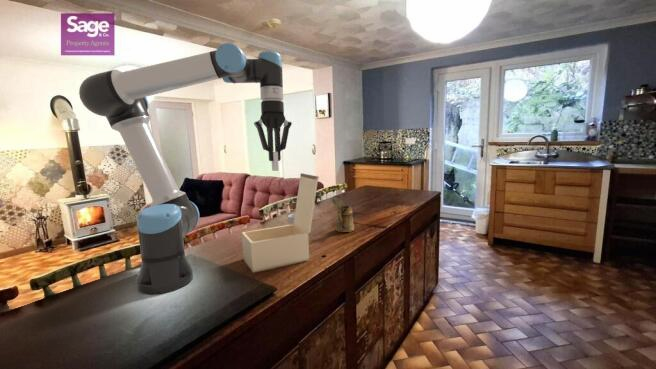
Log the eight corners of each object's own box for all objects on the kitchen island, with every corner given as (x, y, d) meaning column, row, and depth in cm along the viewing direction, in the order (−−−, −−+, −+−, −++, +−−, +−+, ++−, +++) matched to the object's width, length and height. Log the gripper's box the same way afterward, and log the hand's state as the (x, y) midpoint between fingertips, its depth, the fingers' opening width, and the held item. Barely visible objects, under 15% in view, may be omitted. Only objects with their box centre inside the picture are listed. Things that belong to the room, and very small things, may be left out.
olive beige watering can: (327, 234, 140) (326, 195, 137) (341, 226, 151) (340, 190, 149) (345, 236, 135) (344, 196, 133) (357, 228, 147) (357, 191, 144)
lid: (316, 176, 107) (318, 176, 107) (300, 173, 119) (302, 173, 120) (308, 232, 108) (310, 232, 108) (293, 223, 120) (295, 224, 121)
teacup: (300, 235, 139) (300, 218, 138) (283, 231, 146) (283, 215, 144) (320, 228, 150) (319, 212, 149) (303, 225, 156) (302, 209, 155)
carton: (253, 272, 100) (251, 243, 99) (243, 258, 112) (241, 232, 111) (309, 260, 109) (308, 233, 108) (294, 248, 122) (293, 224, 120)
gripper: (255, 98, 98) (259, 172, 101) (294, 100, 104) (296, 170, 107) (250, 101, 104) (253, 170, 108) (286, 103, 110) (289, 168, 114)
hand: (275, 170), depth 107 cm, fingers closed
